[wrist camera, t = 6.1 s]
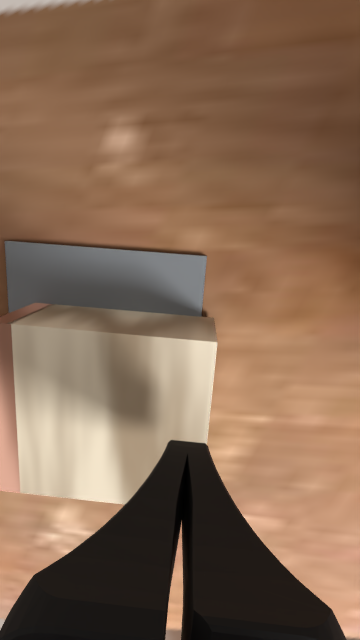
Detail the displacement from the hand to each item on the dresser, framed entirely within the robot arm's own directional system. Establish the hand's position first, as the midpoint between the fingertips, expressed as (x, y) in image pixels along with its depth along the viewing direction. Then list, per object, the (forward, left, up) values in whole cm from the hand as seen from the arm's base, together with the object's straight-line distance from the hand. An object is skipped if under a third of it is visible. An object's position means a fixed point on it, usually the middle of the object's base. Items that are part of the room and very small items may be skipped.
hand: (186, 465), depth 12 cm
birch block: (-1, 0, -4) cm, 4 cm away
